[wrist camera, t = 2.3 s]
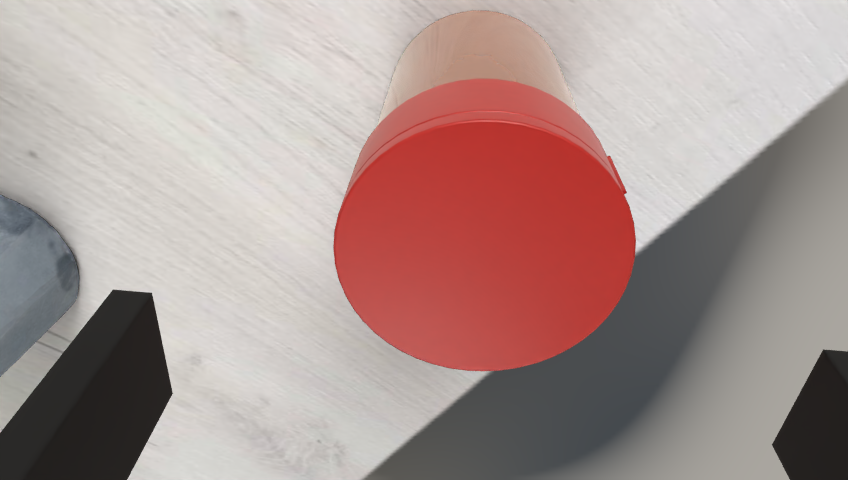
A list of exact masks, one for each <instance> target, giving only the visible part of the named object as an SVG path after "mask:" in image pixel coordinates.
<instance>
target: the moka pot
mask: <svg viewBox="0 0 848 480" xmlns="http://www.w3.org/2000/svg"><path fill="white" fill-rule="evenodd" d="M78 286H79V275H78V269H77V264H76V261H75V259H74V256H73V254H72V252H71V250H70V249H69V247H68V246H67V245H66V243H65V242H64V241H63V239H62V238H61V237H60V235H59V234H58V232H57V231H56V230H55V229H54V228H53V227H52V226H50V225H49V224H48V223H47V222H46V220H44V219H43V218H42V217H41V216H39V215H38V214H36V213H35V212H34V211H32V210H31V209H30V208H28V207H26V206H23V205H21V204H19V203H17V202H16V201H13V200H11V199H8V198H6V197H4V196H2V195H0V377H1V376H2V375H3V374H4V373H5V372H6V371H7V370H8V369H9V368H10V367H11V366H12V365H13V364H14V363H15V362H16V361H17V360H18V359H19V358H20V357H21V356H22V355H23V354H24V353H25V352H26V351H27V350H28V349H29V348H30V347H31V346H32V345H33V344H34V343H35V342H36V341H37V340H38V339H39V338H40V337H41V336H42V335H43V334H44V333H45V332H46V331H47V330H48V329H49V328H50V327H51V326H52V325H53V324H54V323H55V322H56V321H57V320H58V319H59V318H60V317H61V316H63V315H64V313H65V312H66V311H67V310H68V309H69V308H70V307H71V306H72V305H73V304H74V302H75V301H76V299H77V295H78Z"/></svg>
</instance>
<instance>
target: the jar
mask: <svg viewBox="0 0 848 480" xmlns="http://www.w3.org/2000/svg"><path fill="white" fill-rule="evenodd" d="M469 79H500V80H507V81H514V82H518V83H521V84H525V85H528V86H532V87H535V88H537V89H539V90H542V91H544V92H546V93H548V94H551V95H552V96H554V97H556V98H557V99H559V100H560V101H562V102H564V103H565V104H567V105H568V106H569V107H570V108H571V109H573V110H574V111H575V112H576V113H578V114H579V112H578V109H577V107H576V104H575V102H574V100H573V97H572V95H571V93H570V90H569V88H568V85H567V83H566V81H565V78H564V76H563V73H562V71H561V69H560V66H559V64H558V62H557V60H556V57H555V55H554V53H553V52H552V50H551V49H550V47H549V45H548V44H547V43H546V42H545V40H544V39H543V38H542V37H541V36H540V35H539V34H538V33H537V32H536V31H535V30H533V29H532V28H531V27H530V26H528V25H526V24H525V23H523V22H522V21H520V20H518V19H515V18H513V17H511V16H508V15H505V14H502V13H498V12H491V11H467V12H460V13H457V14H453V15H449V16H447V17H445V18H442V19H440V20H438V21H436V22H434V23H433V24H431V25H429V26H428V27H427V28H425V29H424V30H423V31H421V32H420V33H419V34H418V35H417V36H416V37H415V38H414V39H413V40H412V41H411V42H410V44H409V45H408V46H407V48H406V49H405V50H404V52H403V54H402V55H401V57H400V59H399V61H398V63H397V66H396V68H395V71H394V74H393V77H392V80H391V83H390V86H389V89H388V93H387V96H386V99H385V102H384V105H383V108H382V111H381V114H380V117H379V120H378V124H377V126H378V125H379V123H380V122H381V121H382V120H383V119H384V118H385V117H387V116H388V115H389V114H390V113H391V112H392V111H393V110H394V109H396V108H397V107H398V106H400V105H401V104H402V103H404V102H405V101H407V100H408V99H410V98H412V97H414V96H416V95H418V94H420V93H421V92H423V91H426V90H429V89H431V88H434V87H436V86H439V85H443V84H447V83H451V82H455V81H460V80H469ZM579 115H580V114H579Z"/></svg>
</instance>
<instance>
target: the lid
mask: <svg viewBox="0 0 848 480" xmlns="http://www.w3.org/2000/svg"><path fill="white" fill-rule="evenodd" d="M626 193H627V192H626V190H625V187H624V185H623V183H622V181H621V179H620V177H619V174H618V172H617V170H616V168H615V166H614V164H613V161H612V159H611V157H610V156H608V157H607V156H606V154H605V151H604V149H603V147H602V145H601V143H600V141H599V139H598V138H597V136H596V135H595V133H594V132H593V130H592V129H591V127H590V126H589V125H588V124H587V123H586V122H585V121H584V120H583V119H582V117H581V116H580V115H579V114H578V113H576V112H575V111H574V110H573V109H571V108H570V107H569V106H568V105H567V104H565V103H564V102H562V101H560V100H559V99H557V98H556V97H554V96H552V95H551V94H548V93H546V92H544V91H542V90H539V89H537V88H535V87H532V86H528V85H525V84H521V83H518V82H514V81H507V80H500V79H469V80H460V81H455V82H451V83H447V84H443V85H439V86H436V87H434V88H431V89H429V90H426V91H423V92H421V93H420V94H418V95H416V96H414V97H412V98H410V99H408V100H407V101H405V102H404V103H402V104H401V105H400V106H398V107H397V108H396V109H394V110H393V111H392V112H391V113H390V114H389V115H388V116H387V117H385V118H384V119H383V120H382V121H381V122H380V123H379V125H378V126H377V127H376V128H375V130H374V131H373V132H372V134H371V135H370V136H369V138H368V140H367V141H366V143H365V145H364V147H363V148H362V150H361V152H360V155H359V158H358V160H357V163H356V165H355V168H354V171H353V174H352V177H351V180H350V182H349V185H348V188H347V191H346V194H345V197H344V200H343V202H342V205H341V208H340V211H339V214H338V218H337V223H336V227H335V232H334V258H335V266H336V270H337V274H338V278H339V281H340V283H341V286H342V288H343V290H344V293H345V295H346V297H347V299H348V300H349V302H350V304H351V305H352V307H353V309H354V310H355V311H356V313H357V314H358V315H359V316H360V318H361V319H362V320H363V321H364V322H365V323H366V324H367V325H368V326H369V327H370V328H371V329H372V330H373V331H374V332H375V333H376V334H377V335H378V336H380V337H381V338H382V339H384V340H385V341H386V342H387V343H389V344H391V345H392V346H394V347H395V348H397V349H399V350H400V351H402V352H404V353H406V354H408V355H411V356H413V357H415V358H417V359H420V360H423V361H425V362H428V363H431V364H435V365H439V366H443V367H447V368H452V369H459V370H467V371H497V370H507V369H512V368H519V367H523V366H527V365H531V364H535V363H538V362H540V361H543V360H546V359H549V358H552V357H554V356H556V355H558V354H560V353H562V352H564V351H566V350H568V349H569V348H571V347H572V346H574V345H576V344H577V343H579V342H581V341H582V340H583V339H585V338H586V337H587V336H588V335H589V334H591V333H592V332H593V331H594V330H595V329H596V328H598V327H599V326H600V324H601V323H602V322H603V321H604V320H605V319H606V318H607V317H608V316H609V314H610V313H611V312H612V310H613V309H614V308H615V306H616V305H617V304H618V302H619V300H620V298H621V296H622V294H623V293H624V291H625V289H626V286H627V283H628V281H629V278H630V276H631V272H632V268H633V263H634V259H635V245H636V238H635V229H634V222H633V218H632V214H631V211H630V207H629V205H628V202H627V200H626V198H625V196H624V194H626Z"/></svg>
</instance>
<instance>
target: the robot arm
mask: <svg viewBox="0 0 848 480" xmlns="http://www.w3.org/2000/svg"><path fill="white" fill-rule="evenodd" d="M172 394H173V393H172V388H171V383H170V379H169V374H168V369H167V364H166V359H165V354H164V349H163V345H162V340H161V335H160V330H159V325H158V320H157V315H156V311H155V306H154V301H153V296H152V293H145V292H133V291H122V290H112V292H111V293H110V294H109V296H108V297H107V298H106V299H105V301H104V302H103V303H102V304H101V306H100V307H99V308H98V310H97V311H96V312H95V313H94V315H93V316H92V317H91V318H90V320H89V321H88V322H87V324H86V325H85V326H84V327H83V329H82V330H81V331H80V332H79V334H78V335H77V336H76V338H75V339H74V340H73V341H72V343H71V344H70V345H69V346H68V348H67V349H66V350H65V351H64V353H63V354H62V355H61V357H60V358H59V359H58V360H57V362H56V363H55V364H54V365H53V367H52V368H51V369H50V371H49V372H48V373H47V374H46V376H45V377H44V378H43V379H42V381H41V382H40V383H39V385H38V386H37V387H36V388H35V390H34V391H33V392H32V393H31V395H30V396H29V397H28V398H27V400H26V401H25V402H24V404H23V405H22V406H21V407H20V409H19V410H18V411H17V412H16V414H15V415H14V416H13V418H12V419H11V420H10V421H9V423H8V424H7V425H6V426H5V428H4V429H3V430H2V432H1V433H0V480H127V479H128V477H129V475H130V473H131V471H132V469H133V467H134V466H135V464H136V462H137V460H138V458H139V456H140V454H141V452H142V450H143V449H144V447H145V445H146V443H147V441H148V439H149V437H150V435H151V433H152V432H153V430H154V428H155V426H156V424H157V422H158V420H159V418H160V416H161V415H162V413H163V411H164V409H165V407H166V405H167V403H168V401H169V399H170V397H171V396H172ZM772 445H773V448H774V450H775V452H776V453H777V455H778V457H779V459H780V461H781V463H782V465H783V467H784V469H785V471H786V473H787V475H788V476H789V479H790V480H848V352H845V351H833V350H823V351H822V353H821V355H820V357H819V359H818V360H817V362H816V364H815V366H814V368H813V370H812V372H811V373H810V375H809V377H808V379H807V381H806V383H805V385H804V386H803V388H802V390H801V392H800V394H799V396H798V397H797V400H796V401H795V403H794V405H793V407H792V409H791V411H790V412H789V414H788V416H787V418H786V420H785V422H784V424H783V426H782V428H781V429H780V431H779V433H778V435H777V437H776V438H775V441H774V442H773V444H772Z"/></svg>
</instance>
